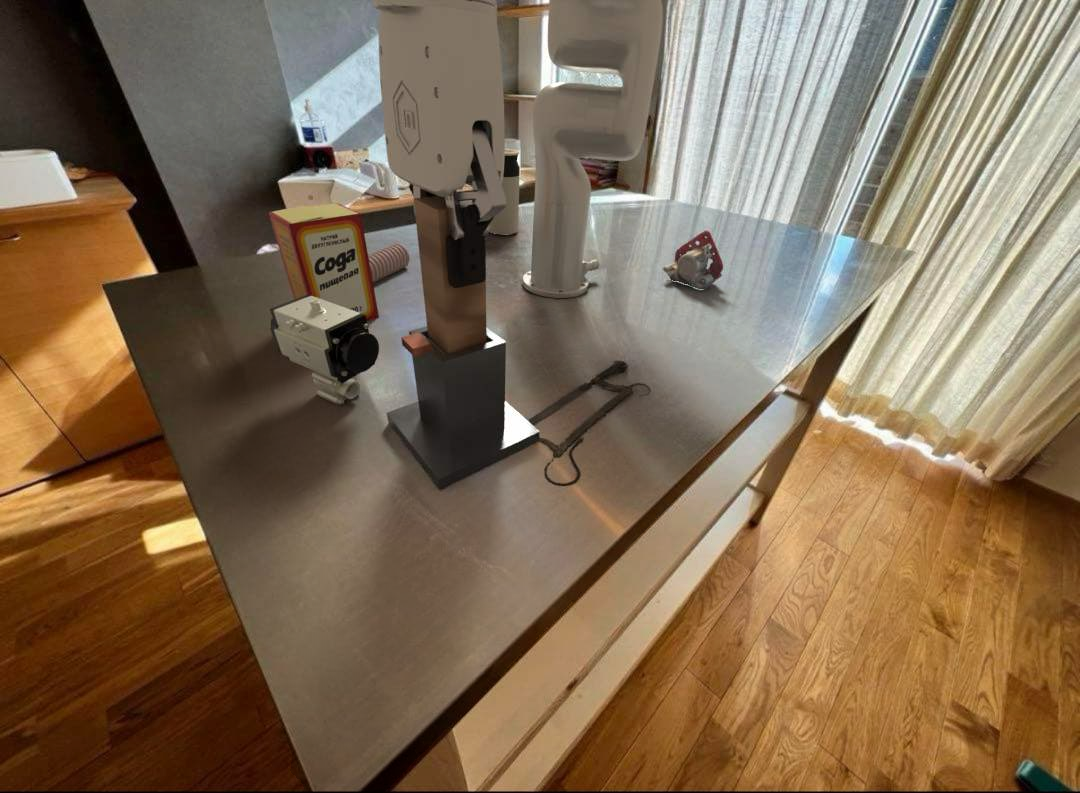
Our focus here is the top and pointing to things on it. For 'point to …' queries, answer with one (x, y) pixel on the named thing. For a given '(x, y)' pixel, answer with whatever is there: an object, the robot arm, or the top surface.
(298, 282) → the baking soda box
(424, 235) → the column
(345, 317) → the pneumatic valve
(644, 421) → the top surface
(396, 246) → the coil
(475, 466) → the sleeve
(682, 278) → the brake caliper
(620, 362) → the hacksaw
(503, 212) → the travel mug
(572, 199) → the robot arm
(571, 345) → the top surface
